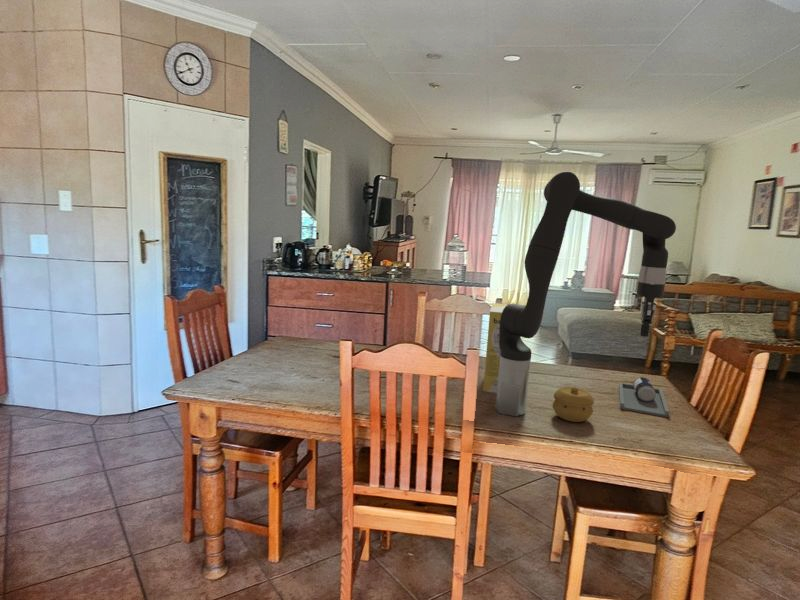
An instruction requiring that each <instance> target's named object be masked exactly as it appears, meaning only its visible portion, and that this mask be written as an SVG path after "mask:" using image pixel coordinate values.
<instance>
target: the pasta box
mask: <svg viewBox="0 0 800 600" xmlns="http://www.w3.org/2000/svg"><path fill="white" fill-rule="evenodd" d="M507 305H509V303H508V304H505V303H496V302H495V303H494V302H492V304H491V307H490V310H489V320H488V330H487V331H488V332H487V340H486V342H487V343H486V351H485V354H486V355H485V364H484V375H483V376H484V377H483V386H482V390H483V392H487V393H495V394H497V384H498V374H499V363H500V347H499V330H500V318H501V314H502V311H503V309H504V308H505V307H506V306H507Z"/></svg>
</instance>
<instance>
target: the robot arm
mask: <svg viewBox="0 0 800 600" xmlns="http://www.w3.org/2000/svg"><path fill="white" fill-rule="evenodd" d="M543 189H544V190H543V196H544V199H545V201H546V204H545V209H544V212H543V215H542V216H541V218H540V221H539V223H538V225H537V226H536V228H535V231H534V232H533V235H532V237H531V240H530V242H529V244H528V247H527V252H526V255H525V259H524V269H525V273H526V278H527V283H528V288H529V289H528V297H527V301H526V304H525V305H522V304H521V305H520V304H515V303H510V304H509V303H508V305H507V306H506V307H505V308H504V309H503V311H502V314H501V318H500V330H499V347H500V363H499V374H498V384H497V393H496V396H495V398H496V399H495V410H496V411H497V413H498V414H503V415H507V416H512V417H519V416H522V415H525V413H526V411H527V410H526V409H527V400H528V399H527V398H528V391H529V390H528V389H529V379H530V369H531V360H532V350H531V348H530V347H528V345H526V343H524V342H523V339H522V338H525V339H531V338H533V337H535V336H536V334H537V333H538V331H539V330H540V327H541V324H542V320H543V316H544V315H543V314H544V310H545V305H546V300H547V297H548V292H549V288H550V284H551V281H552V278H553V275H554V271H555V268H556V266H557V263H558V259H559V256H560V254H561V248H562V244H563V240H564V238H565V232H566V228H567V224H568V220H569V217H570V215H571V213H572V211H575V212H578V213H579V212H580V213H583V214H586V215H590V216H592V217H597V218H599V219H602V220H604V221H607V222H609V223H612V224H615V225H618V226H620V227H622V228H625V229H628V230H634V231H637V232H640V233H642V248H643V250H642V251H643V252H642V256H641V257H642V258H641V265H640V269H639V272H638V280H637V288H636V295H637V296H638V297H641V298H643V299H644V300H642V301H641V302H640V307H641V308H640V324H641V326H640V331H639V334H640V337H644V338H645V337H646V338H648V337H649V333H650V326H651V324H652V323H653V322H652V321H653V318H654V315H655V310H656V309H657V303H656V302H655V299H662V298H663V297H664V294H665V286H666V280H667V267H668V259H669V252H668V251H669V250H668V249H667V248H666V240H667V239H670V238H671V237H672V236H674V234H675V233H676V230H677V225H676V223H675V221H674V220H673V219H672V218H671V217H669V216H668V215H664V214H662V213H658V212H654V211H651V210H647V209H644V208H642V207H639V206H637V205H634V204H632V203H631V202H630V203H629V202H626V201H624V200H621V199H616V198H613V197H612V198H611V197H606V196H600V195H595V194H592V193H591V194H590V193H588V192H586V191H582V190H581V183H580V179H579V177H578V176H577V175H576V174H575V173H574V172H572V171H569V170H568V171H567V170H566V171H560V172H559V173H556V174H555V175H554V176H553V177H551V179H550V180H549V181H548V182H547V183H546V185H545V187H544V188H543Z"/></svg>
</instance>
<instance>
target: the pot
mask: <svg viewBox="0 0 800 600" xmlns="http://www.w3.org/2000/svg"><path fill="white" fill-rule="evenodd" d="M553 399H554V401H552V408H553V410H554V413H555V414H556V415H557V416H558V417H559V418H561V419H562V420H564V421H568V422H573V423H576V422H577V423H580V422H581V423H582V422H584V421H587V420H588V419H589V418H590V417H592V415H593V413H594V408H593V405H594V404H595V399H594V397H593V395H592V394H591V393H590V392H589V391H587V390H584V389H582V388H579V387H577V386H563V387H560V388H558V389H557V390H556V391H554V393H553Z"/></svg>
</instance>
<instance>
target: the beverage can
mask: <svg viewBox="0 0 800 600" xmlns="http://www.w3.org/2000/svg"><path fill="white" fill-rule="evenodd" d="M632 384H633V386H634V389H635V391H636V393H637V395H638V397H639V399H640V400H642V401H644V402H649V401H652V400H653V399H654V398H655V396H656V392H655V390H654V388H655V387H654V386H653V384H652V383H651V380H649V379H648V378H647V377H644V376H643V377H642V376H641V377H637V378H635V380H633V383H632Z"/></svg>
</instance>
